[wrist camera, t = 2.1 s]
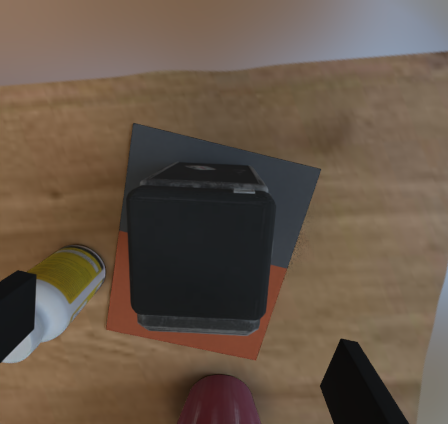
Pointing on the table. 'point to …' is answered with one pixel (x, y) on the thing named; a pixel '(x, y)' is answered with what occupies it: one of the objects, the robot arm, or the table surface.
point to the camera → (200, 249)
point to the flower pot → (219, 402)
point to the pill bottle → (60, 294)
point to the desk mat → (282, 239)
